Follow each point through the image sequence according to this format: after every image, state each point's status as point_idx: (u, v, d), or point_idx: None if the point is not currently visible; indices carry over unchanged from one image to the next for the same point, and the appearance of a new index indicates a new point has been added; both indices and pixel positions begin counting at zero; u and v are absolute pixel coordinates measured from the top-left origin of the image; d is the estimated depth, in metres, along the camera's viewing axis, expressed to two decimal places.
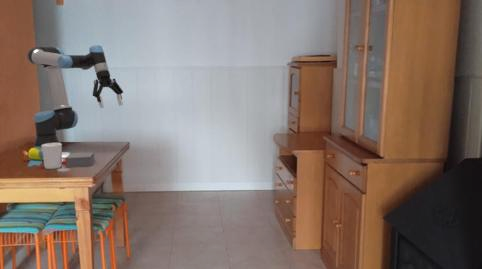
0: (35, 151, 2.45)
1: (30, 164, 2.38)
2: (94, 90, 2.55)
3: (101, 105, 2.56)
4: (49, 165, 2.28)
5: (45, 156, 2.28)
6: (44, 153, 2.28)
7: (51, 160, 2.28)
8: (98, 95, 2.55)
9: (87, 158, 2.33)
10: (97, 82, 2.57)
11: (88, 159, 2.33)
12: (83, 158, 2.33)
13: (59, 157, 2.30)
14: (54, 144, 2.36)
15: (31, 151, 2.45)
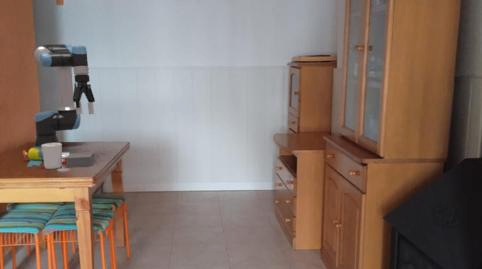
0: (35, 151, 2.45)
1: (30, 164, 2.38)
2: (75, 94, 2.33)
3: (79, 112, 2.35)
4: (49, 165, 2.28)
5: (45, 156, 2.28)
6: (44, 153, 2.28)
7: (51, 160, 2.28)
8: (79, 100, 2.34)
9: (87, 158, 2.33)
10: (79, 86, 2.35)
11: (88, 159, 2.33)
12: (83, 158, 2.33)
13: (59, 157, 2.30)
14: (54, 144, 2.36)
15: (31, 151, 2.45)
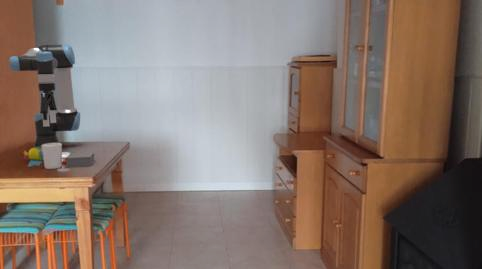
0: (35, 151, 2.45)
1: (30, 164, 2.38)
2: (43, 106, 2.19)
3: (46, 124, 2.22)
4: (49, 165, 2.28)
5: (45, 156, 2.28)
6: (44, 153, 2.28)
7: (51, 160, 2.28)
8: (47, 112, 2.20)
9: (87, 158, 2.33)
10: (46, 97, 2.21)
11: (88, 159, 2.33)
12: (83, 158, 2.33)
13: (59, 157, 2.30)
14: (54, 144, 2.36)
15: (31, 151, 2.45)
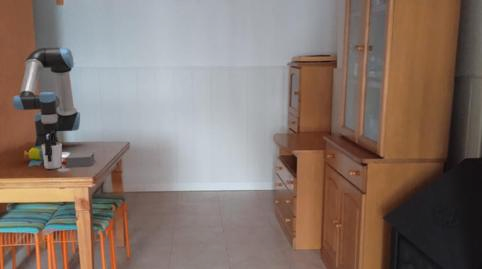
0: (36, 151, 2.45)
1: (31, 164, 2.39)
2: (48, 148, 2.24)
3: (50, 165, 2.27)
4: None
5: (45, 156, 2.28)
6: (44, 153, 2.28)
7: None
8: (51, 154, 2.26)
9: (87, 158, 2.33)
10: (50, 138, 2.25)
11: (88, 159, 2.33)
12: (83, 158, 2.33)
13: (59, 157, 2.31)
14: None
15: (31, 151, 2.45)
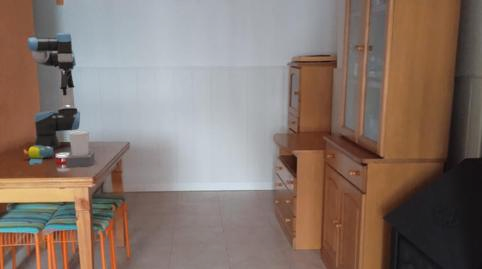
0: (35, 149, 2.49)
1: (31, 162, 2.42)
2: (63, 82, 2.40)
3: (65, 99, 2.44)
4: (76, 153, 2.34)
5: (73, 144, 2.33)
6: (72, 141, 2.33)
7: (78, 148, 2.33)
8: (66, 88, 2.42)
9: (87, 158, 2.33)
10: (66, 74, 2.42)
11: (88, 159, 2.33)
12: (83, 158, 2.33)
13: (86, 145, 2.36)
14: (81, 132, 2.41)
15: (31, 149, 2.49)
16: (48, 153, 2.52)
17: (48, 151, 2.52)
